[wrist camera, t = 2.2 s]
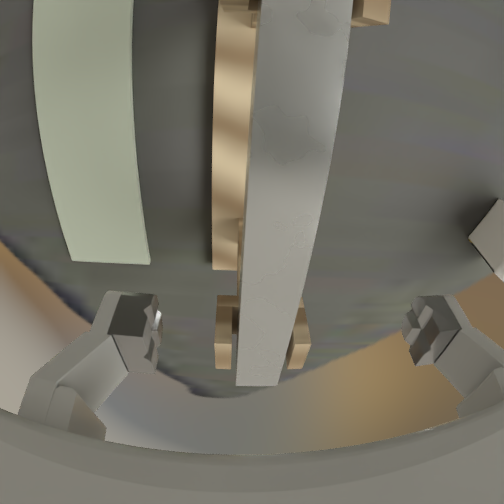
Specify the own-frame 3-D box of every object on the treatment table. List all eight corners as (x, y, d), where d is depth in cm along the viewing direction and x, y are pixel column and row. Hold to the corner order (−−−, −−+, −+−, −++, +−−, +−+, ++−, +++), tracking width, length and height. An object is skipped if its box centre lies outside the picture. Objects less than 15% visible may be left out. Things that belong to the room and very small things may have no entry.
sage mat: (37, -5, 14) (34, -6, 13) (136, -33, 14) (134, -35, 14) (74, 257, 32) (72, 260, 32) (150, 261, 33) (149, 264, 32)
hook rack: (223, -41, 15) (201, -132, 3) (325, -31, 15) (417, -93, 4) (213, 263, 33) (202, 390, 21) (286, 265, 34) (306, 390, 22)
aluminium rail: (266, -88, 6) (271, -116, 4) (335, -77, 6) (357, -100, 4) (235, 352, 23) (235, 385, 21) (273, 353, 24) (276, 385, 21)
